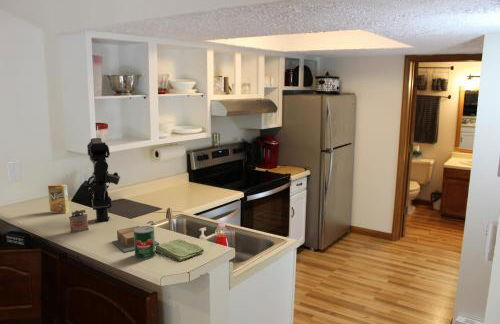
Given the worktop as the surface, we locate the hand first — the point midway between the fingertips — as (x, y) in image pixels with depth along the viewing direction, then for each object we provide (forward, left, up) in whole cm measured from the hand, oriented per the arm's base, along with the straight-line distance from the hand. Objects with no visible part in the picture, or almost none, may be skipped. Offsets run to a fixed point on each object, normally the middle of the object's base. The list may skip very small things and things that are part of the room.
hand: (102, 201), depth 204 cm
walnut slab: (+17, +13, -10) cm, 24 cm away
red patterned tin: (+2, -11, -13) cm, 17 cm away
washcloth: (+39, +35, -14) cm, 54 cm away
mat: (+25, +16, -13) cm, 33 cm away
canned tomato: (+40, +21, -13) cm, 47 cm away
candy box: (-34, -28, -13) cm, 46 cm away
